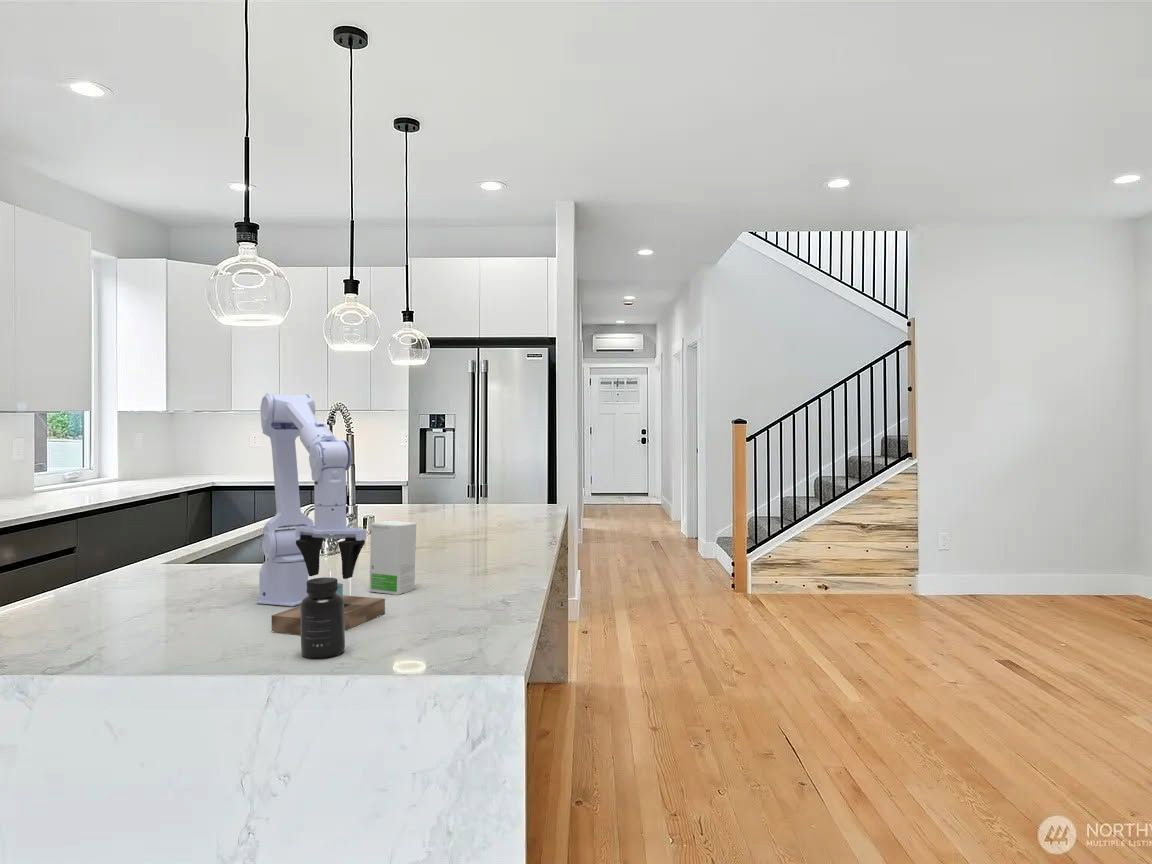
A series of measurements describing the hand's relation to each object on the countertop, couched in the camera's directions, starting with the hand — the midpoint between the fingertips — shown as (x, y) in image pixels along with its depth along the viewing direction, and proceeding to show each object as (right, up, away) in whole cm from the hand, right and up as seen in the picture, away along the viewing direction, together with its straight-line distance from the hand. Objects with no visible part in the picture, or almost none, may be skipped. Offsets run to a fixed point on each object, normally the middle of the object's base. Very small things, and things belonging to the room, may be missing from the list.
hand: (330, 576), depth 143 cm
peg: (0, -9, 0) cm, 9 cm away
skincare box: (+5, -9, +28) cm, 30 cm away
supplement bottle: (+5, -9, -20) cm, 22 cm away
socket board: (0, -9, 0) cm, 9 cm away
